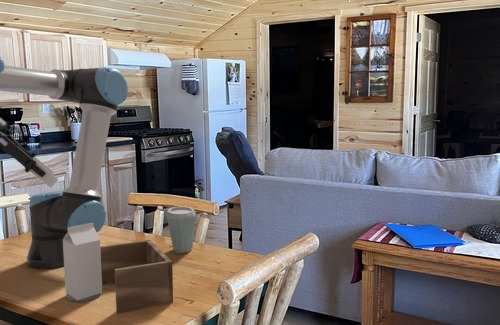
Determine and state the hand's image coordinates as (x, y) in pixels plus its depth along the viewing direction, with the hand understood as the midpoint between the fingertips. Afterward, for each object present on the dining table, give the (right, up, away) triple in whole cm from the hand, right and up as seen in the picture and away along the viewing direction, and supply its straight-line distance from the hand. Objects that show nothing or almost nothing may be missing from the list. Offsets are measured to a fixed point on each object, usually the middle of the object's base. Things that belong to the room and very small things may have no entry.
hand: (52, 179), depth 126 cm
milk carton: (+7, -31, +3) cm, 32 cm away
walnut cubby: (+21, -31, +5) cm, 38 cm away
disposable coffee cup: (+28, -27, +42) cm, 58 cm away
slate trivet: (+7, -32, +3) cm, 32 cm away
